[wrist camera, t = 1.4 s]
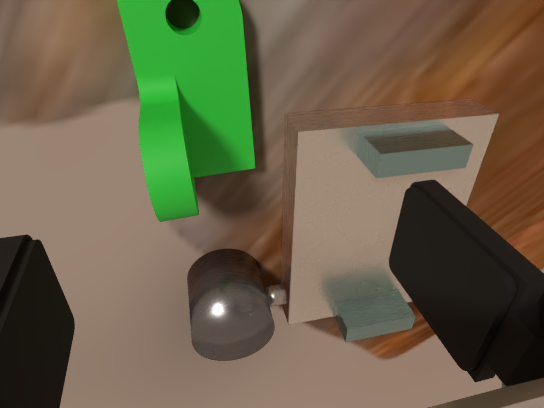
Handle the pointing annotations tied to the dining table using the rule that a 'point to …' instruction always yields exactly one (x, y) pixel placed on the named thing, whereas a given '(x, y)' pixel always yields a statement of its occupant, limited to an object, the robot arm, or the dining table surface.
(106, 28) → the dining table surface
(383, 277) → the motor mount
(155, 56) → the mechanical part
